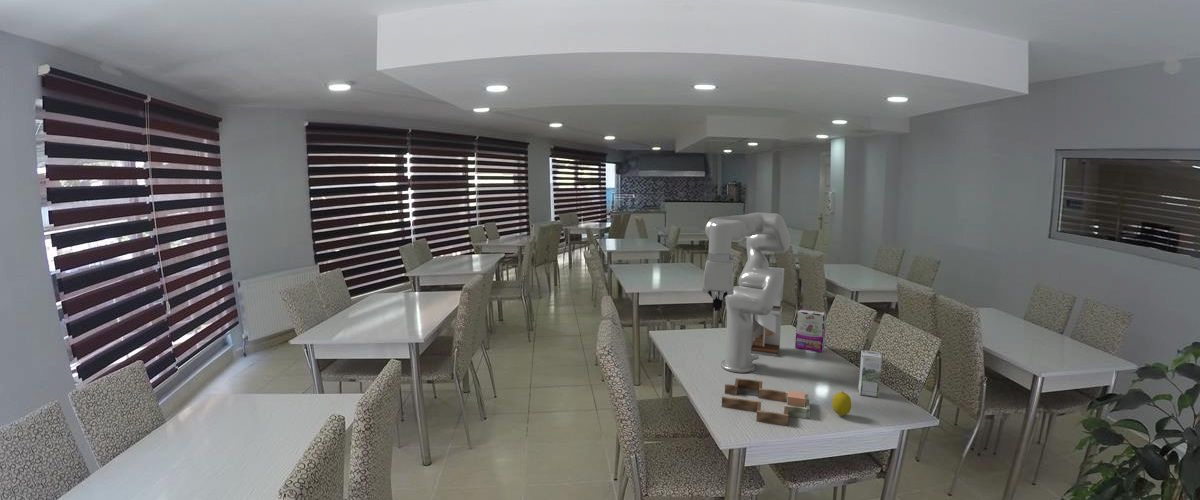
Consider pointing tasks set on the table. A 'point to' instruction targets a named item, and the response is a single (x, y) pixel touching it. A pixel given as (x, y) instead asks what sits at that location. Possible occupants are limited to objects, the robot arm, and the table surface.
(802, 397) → the block
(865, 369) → the syrup box
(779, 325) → the display case
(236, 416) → the table surface
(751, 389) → the wooden zigzag frame
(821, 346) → the candy bar box
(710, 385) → the table surface
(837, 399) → the lemon
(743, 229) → the robot arm
